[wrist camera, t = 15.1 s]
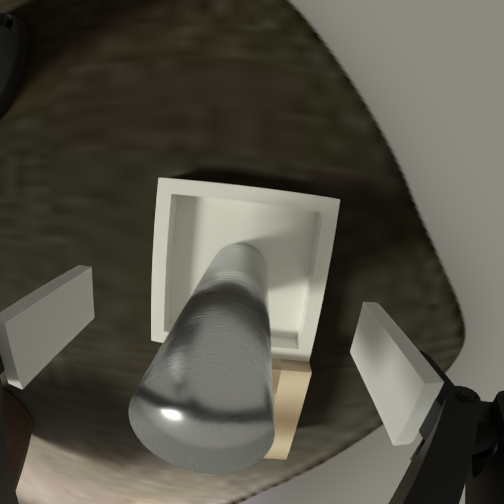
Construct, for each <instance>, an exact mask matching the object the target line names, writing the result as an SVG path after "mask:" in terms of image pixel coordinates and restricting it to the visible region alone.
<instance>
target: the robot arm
mask: <svg viewBox="0 0 504 504" xmlns="http://www.w3.org/2000/svg"><path fill="white" fill-rule="evenodd" d="M28 45H29V36H28V30H27V27H26V25H25V23H24V22H23V21H22V20H21V19H19V18H18V17H16V16H14V15H12V14H8V13H0V117H1V116H2V114H3V113H4V111H5V109H6V108H7V106H8V104H9V102H10V101H11V99H12V97H13V95H14V92H15V90H16V88H17V86H18V83H19V81H20V78H21V75H22V72H23V69H24V66H25V62H26V58H27V53H28ZM93 319H94V306H93V289H92V267H88V266H82V265H78V266H76V267H75V268H73V269H71V270H69V271H68V272H66V273H64V274H62V275H61V276H59V277H57V278H55V279H54V280H52V281H50V282H49V283H47V284H45V285H43V286H42V287H40V288H38V289H37V290H35V291H33V292H32V293H30V294H28V295H27V296H25V297H24V298H22V299H20V300H19V301H17V302H15V303H13V304H11V305H10V306H8V307H7V308H5V309H3V310H2V311H0V374H1V373H2V372H3V371H5V374H6V377H7V380H8V383H9V384H11V385H13V386H16V387H18V388H20V389H22V390H23V389H24V388H25V387H26V385H27V384H28V383H29V382H30V381H31V380H32V379H33V378H34V377H35V376H36V375H37V374H38V373H39V372H40V371H41V370H42V369H43V368H44V367H45V366H46V365H47V364H48V363H49V362H50V361H51V360H52V359H53V358H54V357H55V356H56V355H57V354H58V353H59V352H60V351H61V350H62V349H63V348H64V347H65V346H66V345H67V344H68V343H69V342H70V341H71V340H72V339H73V338H74V337H75V336H76V335H77V334H78V333H79V332H80V331H81V330H82V329H83V328H84V327H85V326H86V325H87V324H88V323H90V322H91V321H92V320H93ZM350 353H351V355H352V357H353V359H354V361H355V363H356V366H357V368H358V370H359V372H360V374H361V376H362V378H363V380H364V382H365V384H366V387H367V389H368V391H369V393H370V395H371V397H372V399H373V401H374V404H375V406H376V408H377V410H378V412H379V414H380V417H381V419H382V421H383V423H384V425H385V428H386V430H387V432H388V434H389V437H390V439H391V441H392V443H393V445H394V446H396V445H404V444H411V443H412V442H413V441H414V439H415V437H416V435H417V434H418V432H420V434H421V436H422V437H423V439H422V441H421V443H420V444H419V446H418V447H417V449H416V451H415V452H414V454H413V455H412V457H411V458H410V460H412V461H411V463H410V465H409V467H408V469H407V471H406V473H405V475H404V477H403V479H402V481H401V482H400V484H399V486H398V488H397V490H396V491H395V493H394V495H393V497H392V499H391V500H390V502H389V504H459V502H460V498H461V495H462V492H463V489H464V485H465V504H504V391H501V392H499V393H498V394H497V395H496V397H495V399H494V401H493V402H486V401H485V402H484V401H481V400H480V397H479V396H478V394H477V393H476V392H474V391H473V390H471V389H469V388H467V387H463V386H454V384H453V383H452V382H451V381H450V379H449V378H448V377H447V376H446V375H445V373H444V372H443V371H441V369H440V367H439V366H438V365H436V363H435V362H434V360H433V359H432V358H431V357H430V356H429V355H427V354H426V353H424V352H423V351H418V349H417V348H416V347H415V346H414V345H413V343H412V342H411V341H410V340H409V339H408V337H407V336H406V335H405V334H404V333H403V332H402V330H401V329H400V328H399V327H398V326H397V325H396V323H395V322H394V321H393V320H392V319H391V318H390V316H389V315H388V314H387V313H386V312H385V311H384V310H383V308H382V307H381V306H380V305H379V304H378V303H372V302H363V305H362V309H361V313H360V317H359V321H358V325H357V328H356V332H355V336H354V339H353V343H352V346H351V350H350ZM0 504H19V503H18V499H17V495H16V491H15V487H14V482H13V478H12V473H11V467H10V462H9V456H8V450H7V443H6V435H5V426H4V416H3V402H2V383H1V379H0Z"/></svg>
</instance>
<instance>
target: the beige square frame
mask: <svg viewBox="0 0 504 504" xmlns="http://www.w3.org/2000/svg"><path fill="white" fill-rule="evenodd" d="M311 373H312V371H311V367H310V363H309V362H308V361H296V360H284V359H274V358H272V378H273V400H274V424H275V437H274V442H273V444H272V447H271V448H270V450H269V452H268V453H267V454H266V455H265V456H264V457H263V458H270V459H287V456H288V453H289V450H290V446H291V443H292V440H293V437H294V434H295V430H296V427H297V424H298V420H299V417H300V413H301V410H302V406H303V403H304V399H305V396H306V392H307V388H308V385H309V381H310V377H311Z"/></svg>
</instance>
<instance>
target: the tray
mask: <svg viewBox="0 0 504 504" xmlns="http://www.w3.org/2000/svg"><path fill="white" fill-rule="evenodd" d="M339 204H340V199H335V198H331V197H325V196H318V195H312V194H305V193H298V192H291V191H284V190H276V189H269V188H261V187H253V186H245V185H236V184H227V183H218V182H208V181H198V180H187V179H175V178H159V180H158V190H157V201H156V213H155V227H154V243H153V263H152V296H151V341H157V342H162V343H163V342H164V340H165V339H166V337H167V335H168V334H169V332H170V330H171V328H172V327H173V325H174V323H175V322H176V320H177V318H178V317H179V315H180V313H181V312H182V310H183V308H184V307H185V305H186V303H187V302H188V300H189V298H190V297H191V295H192V293H193V292H194V290H195V288H196V287H197V285H198V283H199V282H200V280H201V278H202V277H203V275H204V273H205V272H206V270H207V269H208V267H209V265H210V264H211V262H212V260H213V259H214V257H215V256H216V254H217V253H218V252H219V251H220V250H221V249H222V248H223V247H225V246H227V245H229V244H233V243H245V244H248V245H251V246H253V247H254V248H256V249H257V250H258V251H259V252H260V253H261V254H262V256H263V257H264V259H265V262H266V266H267V280H268V298H269V317H270V336H271V357H272V358H274V359H284V360H296V361H308V362H309V360H310V356H311V351H312V347H313V343H314V338H315V334H316V330H317V325H318V320H319V316H320V311H321V306H322V301H323V296H324V291H325V286H326V281H327V276H328V271H329V265H330V260H331V254H332V248H333V242H334V236H335V230H336V224H337V218H338V211H339Z"/></svg>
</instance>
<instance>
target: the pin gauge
mask: <svg viewBox="0 0 504 504" xmlns="http://www.w3.org/2000/svg"><path fill="white" fill-rule="evenodd" d="M128 411H129V420H130V424H131V426H132V429H133V431H134V432H135V434H136V436H137V437H138V438H139V440H140V441H141V442H142V443H143V444H144V446H145V447H146V448H148V449H149V450H150V451H151V452H152V453H154V454H155V455H156V456H158V457H159V458H161V459H163V460H164V461H166V462H168V463H170V464H172V465H175V466H177V467H180V468H183V469H186V470H189V471H194V472H200V473H209V474H221V473H230V472H235V471H239V470H242V469H245V468H248V467H250V466H252V465H254V464H255V463H257V462H258V461H260V460H261V459H262V458H263V457H264V456H265V455H266V454H267V453H268V452H269V450H270V448H271V447H272V444H273V442H274V437H275V424H274V400H273V378H272V357H271V336H270V317H269V298H268V280H267V266H266V262H265V259H264V257H263V256H262V254H261V253H260V252H259V251H258V250H257V249H256V248H254V247H253V246H251V245H248V244H245V243H233V244H229V245H227V246H225V247H223V248H222V249H221V250H220V251H219V252H218V253H217V254H216V256H215V257H214V259H213V260H212V262H211V264H210V265H209V267H208V269H207V270H206V272H205V273H204V275H203V277H202V278H201V280H200V282H199V283H198V285H197V287H196V288H195V290H194V292H193V293H192V295H191V297H190V298H189V300H188V302H187V303H186V305H185V307H184V308H183V310H182V312H181V313H180V315H179V317H178V318H177V320H176V322H175V323H174V325H173V327H172V328H171V330H170V332H169V334H168V335H167V337H166V339H165V340H164V342H163V344H162V346H161V347H160V349H159V351H158V352H157V354H156V356H155V358H154V359H153V361H152V363H151V364H150V366H149V368H148V370H147V371H146V373H145V375H144V377H143V378H142V380H141V382H140V384H139V385H138V387H137V389H136V391H135V392H134V394H133V396H132V398H131V401H130V403H129V410H128Z"/></svg>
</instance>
